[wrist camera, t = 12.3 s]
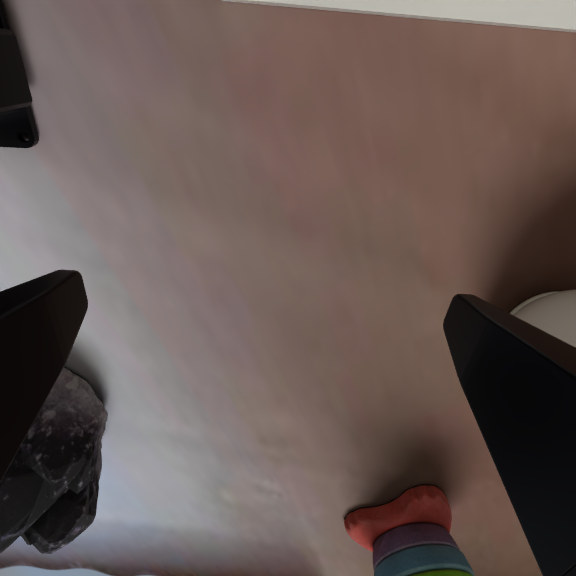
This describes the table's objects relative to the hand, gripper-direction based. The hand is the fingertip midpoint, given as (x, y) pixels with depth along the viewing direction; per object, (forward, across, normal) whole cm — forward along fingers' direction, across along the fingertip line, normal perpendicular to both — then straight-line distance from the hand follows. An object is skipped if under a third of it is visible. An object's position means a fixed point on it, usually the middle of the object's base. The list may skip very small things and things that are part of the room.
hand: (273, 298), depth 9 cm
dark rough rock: (+12, +17, +19) cm, 28 cm away
